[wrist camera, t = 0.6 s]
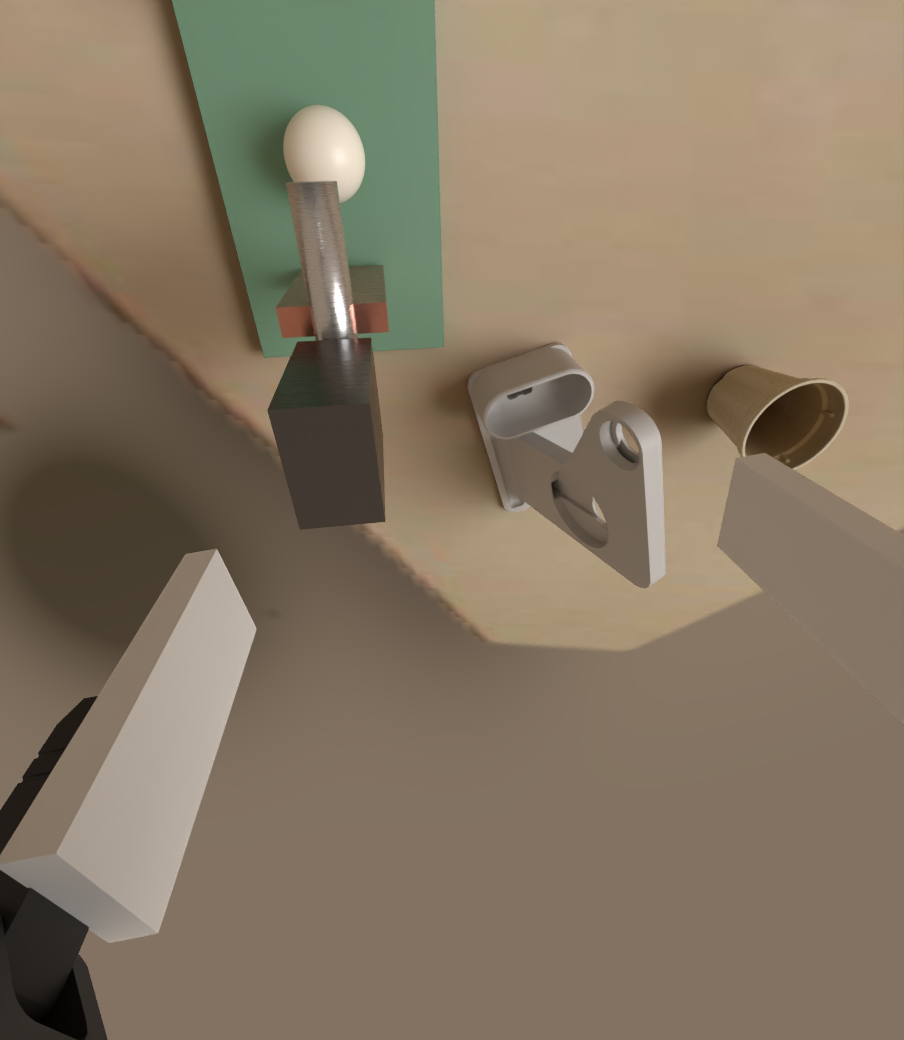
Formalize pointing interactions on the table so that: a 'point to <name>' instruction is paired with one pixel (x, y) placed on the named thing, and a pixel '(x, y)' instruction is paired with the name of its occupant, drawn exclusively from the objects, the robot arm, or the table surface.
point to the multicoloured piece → (330, 371)
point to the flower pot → (778, 413)
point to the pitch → (372, 111)
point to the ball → (324, 149)
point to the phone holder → (574, 458)
